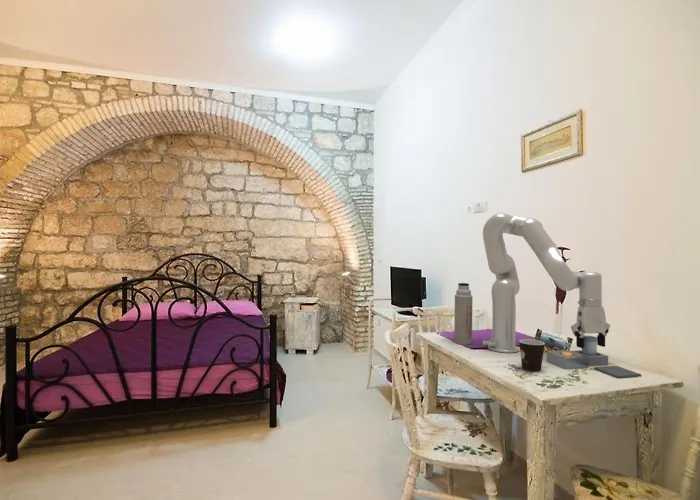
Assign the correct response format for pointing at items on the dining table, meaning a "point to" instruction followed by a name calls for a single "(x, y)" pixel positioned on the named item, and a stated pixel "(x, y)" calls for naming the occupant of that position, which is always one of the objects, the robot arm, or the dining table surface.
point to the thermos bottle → (463, 315)
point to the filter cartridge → (590, 345)
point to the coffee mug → (531, 354)
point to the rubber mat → (617, 371)
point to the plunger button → (567, 353)
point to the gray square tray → (595, 359)
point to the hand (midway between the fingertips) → (590, 346)
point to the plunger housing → (567, 359)
